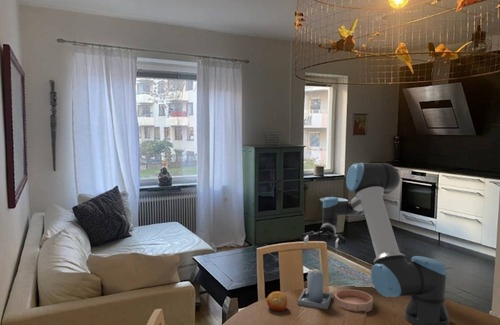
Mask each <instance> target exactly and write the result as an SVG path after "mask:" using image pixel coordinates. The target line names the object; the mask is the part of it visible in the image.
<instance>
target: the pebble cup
mask: <svg viewBox="0 0 500 325" xmlns="http://www.w3.org/2000/svg"><path fill="white" fill-rule="evenodd" d="M324 274H325V273H324V272H323V271H322V270H319V269H317V268H315V269H310V270H308V271H307V289H306V290H307V301H310V302H316V303H321V302H322V301H323V293H324Z"/></svg>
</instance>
